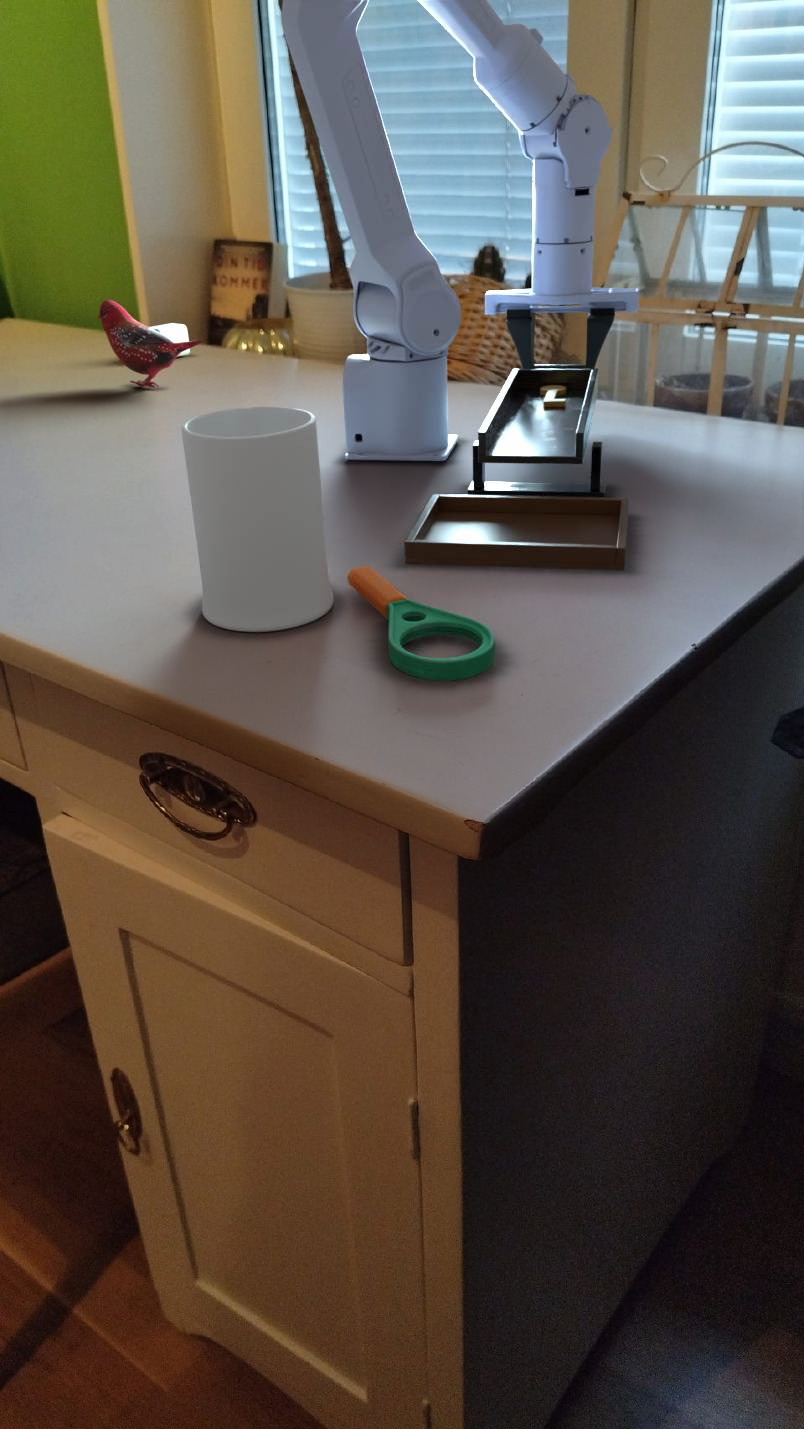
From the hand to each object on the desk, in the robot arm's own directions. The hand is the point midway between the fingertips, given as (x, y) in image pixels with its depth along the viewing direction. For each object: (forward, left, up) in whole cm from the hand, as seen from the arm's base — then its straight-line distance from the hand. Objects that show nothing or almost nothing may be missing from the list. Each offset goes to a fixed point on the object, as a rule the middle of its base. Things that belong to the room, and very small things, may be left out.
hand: (559, 389), depth 109 cm
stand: (0, -23, -3) cm, 23 cm away
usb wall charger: (-57, +35, -1) cm, 67 cm away
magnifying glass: (-5, -52, -4) cm, 52 cm away
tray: (0, -35, -3) cm, 35 cm away
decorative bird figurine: (-50, +16, -4) cm, 53 cm away
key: (0, -10, +1) cm, 10 cm away
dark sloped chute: (0, -14, +1) cm, 14 cm away
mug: (-16, -48, -4) cm, 51 cm away
